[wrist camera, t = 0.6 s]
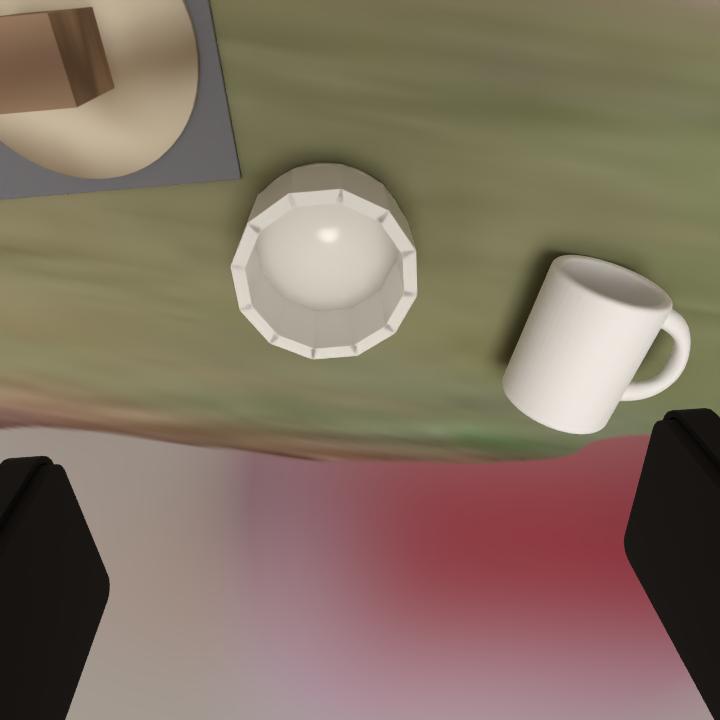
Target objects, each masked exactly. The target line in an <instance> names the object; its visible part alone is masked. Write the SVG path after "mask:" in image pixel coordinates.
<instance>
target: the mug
mask: <svg viewBox="0 0 720 720" xmlns="http://www.w3.org/2000/svg"><path fill="white" fill-rule="evenodd" d="M672 306H673V304H672V300H671V298H670V297H669V295H668V294H667V293H666V292H665V291H664V290H663V289H662V288H660V287H659V286H658V285H656V284H655V283H653V282H652V281H650V280H649V279H647V278H645V277H643V276H642V275H640V274H638V273H636V272H633V271H631V270H629V269H627V268H624V267H622V266H619V265H616V264H614V263H611V262H608V261H604V260H601V259H597V258H592V257H587V256H581V255H563V256H560V257H557V258H556V259H554V260H553V262H552V264H551V266H550V268H549V271H548V273H547V275H546V278H545V280H544V282H543V285H542V287H541V289H540V292H539V294H538V296H537V299H536V301H535V303H534V306H533V308H532V310H531V313H530V315H529V317H528V320H527V322H526V324H525V327H524V329H523V331H522V334H521V336H520V338H519V341H518V343H517V345H516V348H515V350H514V352H513V355H512V357H511V359H510V362H509V364H508V366H507V369H506V371H505V373H504V376H503V379H502V386H503V389H504V392H505V394H506V395H507V397H508V398H509V400H510V401H511V402H512V403H513V404H514V405H515V406H516V407H517V408H518V409H519V410H520V411H522V412H523V413H524V414H526V415H527V416H529V417H530V418H532V419H533V420H535V421H537V422H539V423H541V424H543V425H545V426H548V427H550V428H553V429H556V430H559V431H563V432H567V433H573V434H590V433H594V432H597V431H599V430H601V429H602V428H603V427H604V426H605V425H606V424H607V422H608V420H609V418H610V417H611V415H612V413H613V411H614V410H615V408H616V406H617V404H618V403H619V401H633V400H640V399H645V398H648V397H651V396H653V395H656V394H658V393H660V392H661V391H663V390H665V389H666V388H667V387H669V386H670V385H671V384H672V383H673V382H675V381H676V379H677V378H678V377H679V376H680V375H681V373H682V371H683V370H684V368H685V366H686V363H687V360H688V357H689V352H690V332H689V328H688V325H687V323H686V321H685V320H684V318H683V317H682V316H681V315H680V314H679V313H677V312H676V311H674V310H673V309H672ZM660 329H663V330H665V331H666V332H668V333H669V334H670V335H671V336H672V337H673V339H674V345H673V349H672V352H671V354H670V356H669V358H668V360H667V362H666V364H665V365H664V367H663V368H662V369H661V371H660V372H659V373H658V374H657V375H656V376H654V377H653V378H651V379H648V380H645V381H636V382H631V380H632V378H633V376H634V375H635V373H636V371H637V369H638V368H639V366H640V364H641V362H642V361H643V359H644V357H645V355H646V354H647V352H648V350H649V348H650V347H651V345H652V343H653V341H654V339H655V338H656V336H657V334H658V332H659V331H660Z"/></svg>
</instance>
